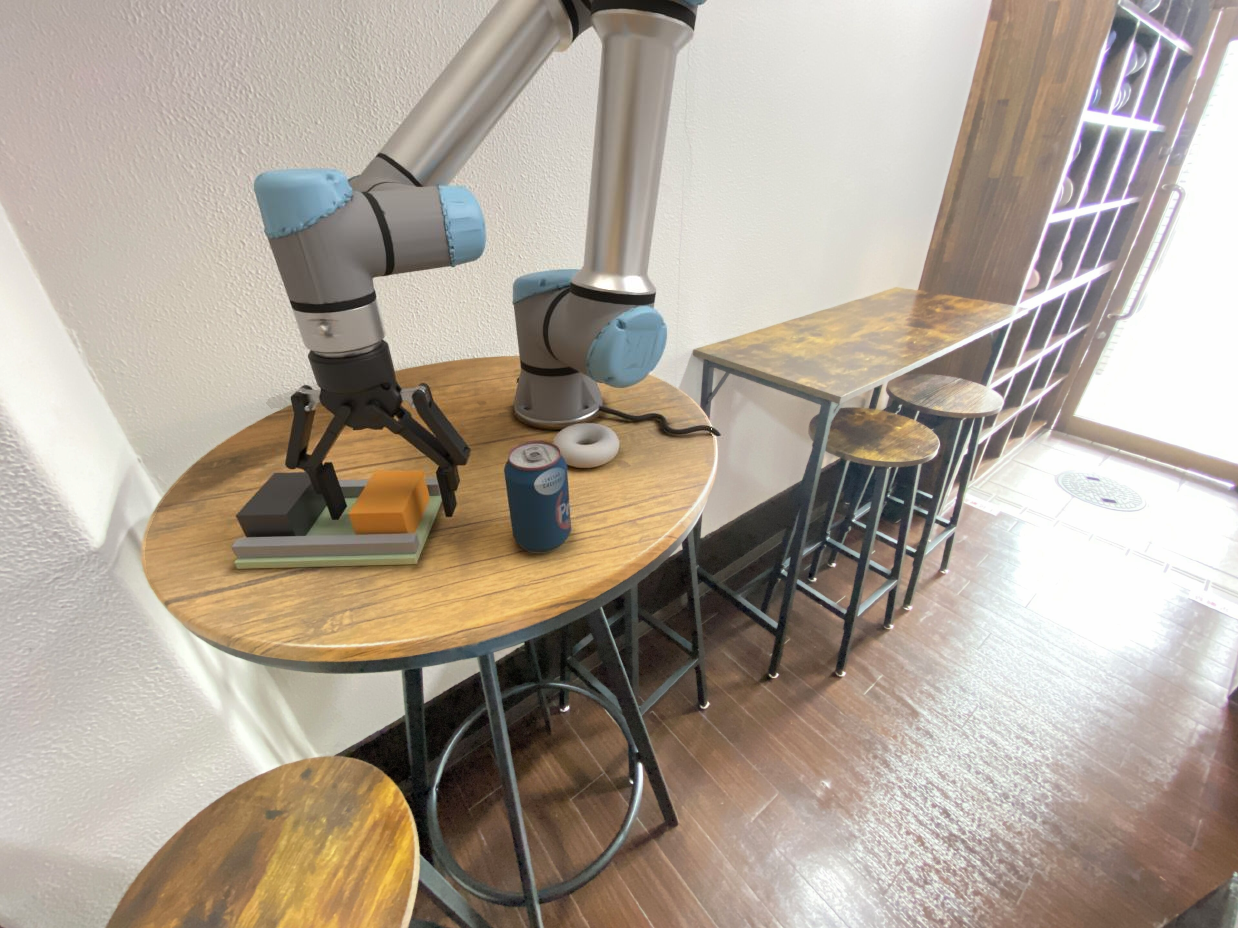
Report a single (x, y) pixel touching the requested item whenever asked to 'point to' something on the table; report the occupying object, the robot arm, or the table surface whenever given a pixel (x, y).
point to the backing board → (319, 528)
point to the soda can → (538, 496)
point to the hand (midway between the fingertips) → (395, 511)
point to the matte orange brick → (391, 503)
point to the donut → (586, 456)
